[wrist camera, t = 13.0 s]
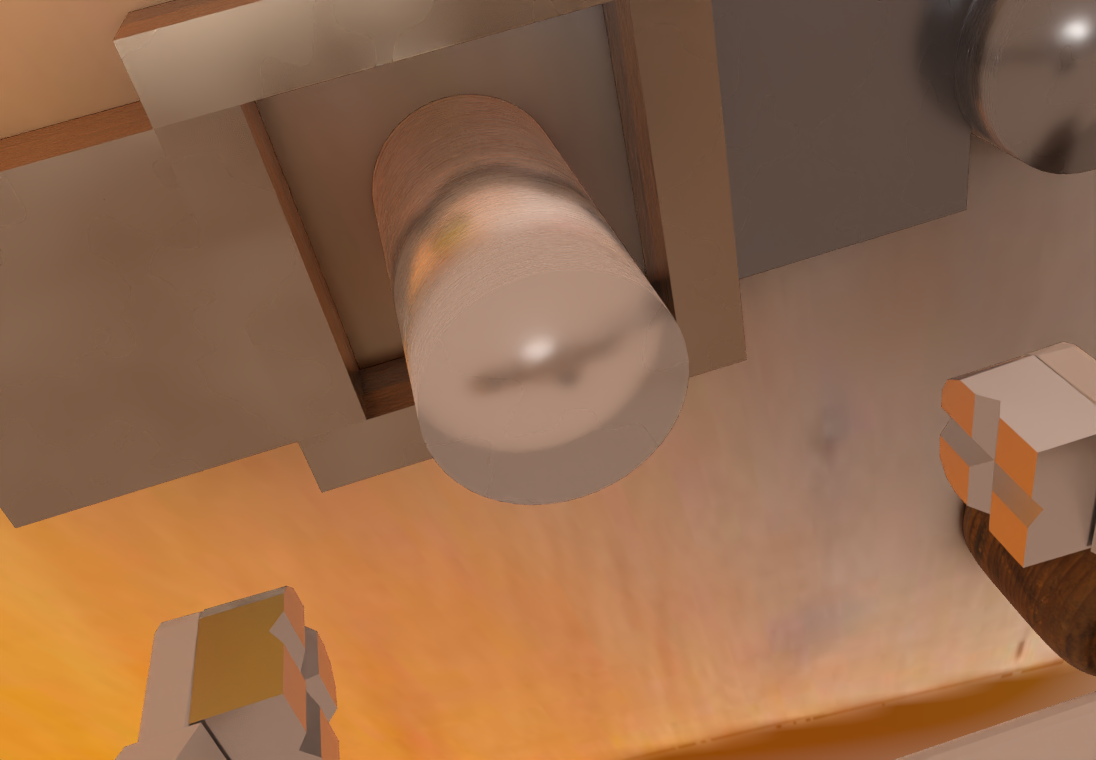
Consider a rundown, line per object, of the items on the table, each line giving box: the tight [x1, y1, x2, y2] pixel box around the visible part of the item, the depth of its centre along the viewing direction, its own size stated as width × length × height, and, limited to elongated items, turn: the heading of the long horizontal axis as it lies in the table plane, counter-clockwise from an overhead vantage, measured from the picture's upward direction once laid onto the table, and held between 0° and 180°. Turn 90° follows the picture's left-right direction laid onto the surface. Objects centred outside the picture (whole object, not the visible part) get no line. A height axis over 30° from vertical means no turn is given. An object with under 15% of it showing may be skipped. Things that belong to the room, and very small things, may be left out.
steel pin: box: [372, 94, 689, 505], centre depth 17 cm, size 4×4×8 cm
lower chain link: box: [121, 0, 1096, 394], centre depth 20 cm, size 20×10×2 cm, turn 102°
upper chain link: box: [0, 0, 747, 528], centre depth 19 cm, size 20×10×2 cm, turn 102°
